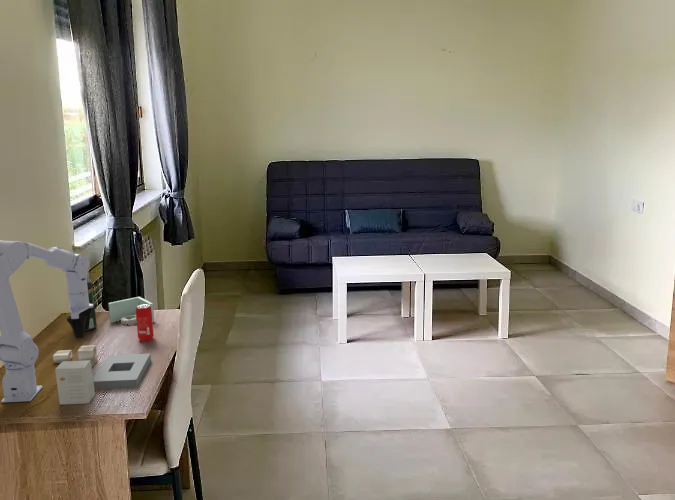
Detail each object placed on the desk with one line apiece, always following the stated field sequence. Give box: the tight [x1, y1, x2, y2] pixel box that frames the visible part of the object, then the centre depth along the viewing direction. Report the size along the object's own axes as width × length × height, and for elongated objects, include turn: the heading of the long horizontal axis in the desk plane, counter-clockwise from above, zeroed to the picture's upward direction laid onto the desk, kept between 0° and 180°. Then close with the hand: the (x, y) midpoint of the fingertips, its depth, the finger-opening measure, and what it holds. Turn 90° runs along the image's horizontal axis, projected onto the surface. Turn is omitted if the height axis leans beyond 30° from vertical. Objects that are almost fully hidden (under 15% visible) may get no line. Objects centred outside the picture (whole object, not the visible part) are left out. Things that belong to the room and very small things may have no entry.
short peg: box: [52, 349, 73, 364], centre depth 212 cm, size 4×4×2 cm
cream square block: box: [77, 344, 99, 366], centre depth 209 cm, size 4×4×5 cm
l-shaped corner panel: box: [108, 296, 155, 326], centre depth 246 cm, size 12×12×8 cm
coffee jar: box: [84, 276, 97, 332], centre depth 240 cm, size 10×8×19 cm
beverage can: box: [135, 304, 155, 343], centre depth 227 cm, size 5×5×12 cm
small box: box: [54, 360, 96, 406], centre depth 182 cm, size 8×6×10 cm
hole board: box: [93, 353, 152, 391], centre depth 199 cm, size 20×13×2 cm, turn 4°
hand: (82, 333), depth 208 cm, fingers open, 7 cm apart
